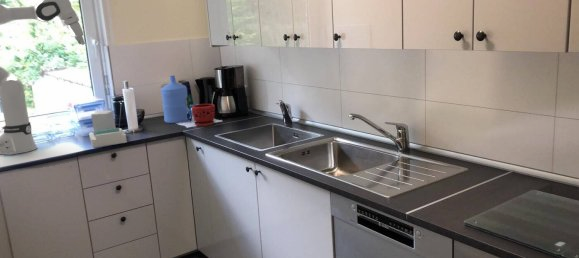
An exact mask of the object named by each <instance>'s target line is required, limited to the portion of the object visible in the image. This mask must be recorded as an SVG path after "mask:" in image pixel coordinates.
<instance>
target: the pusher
mask: <svg viewBox="0 0 579 258" xmlns="http://www.w3.org/2000/svg"><path fill="white" fill-rule="evenodd" d="M112 132H119V127H116V128H114V129H107V130H100V131H95V134H96V135H99V134H105V133H112ZM95 134H94V135H95Z"/></svg>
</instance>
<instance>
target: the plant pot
mask: <svg viewBox="0 0 579 258" xmlns="http://www.w3.org/2000/svg"><path fill="white" fill-rule="evenodd" d="M215 110H216V107H215V104H213V103H200V104H195V105H192V106H191V113H192V117H193V120H194V121H195V122H194V125H195V126H196V127H201V128H202V127H203V128H205V127H209V126H213V125H214V124H215V120H214V119H215V115H216V114H215V113H216V111H215Z"/></svg>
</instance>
